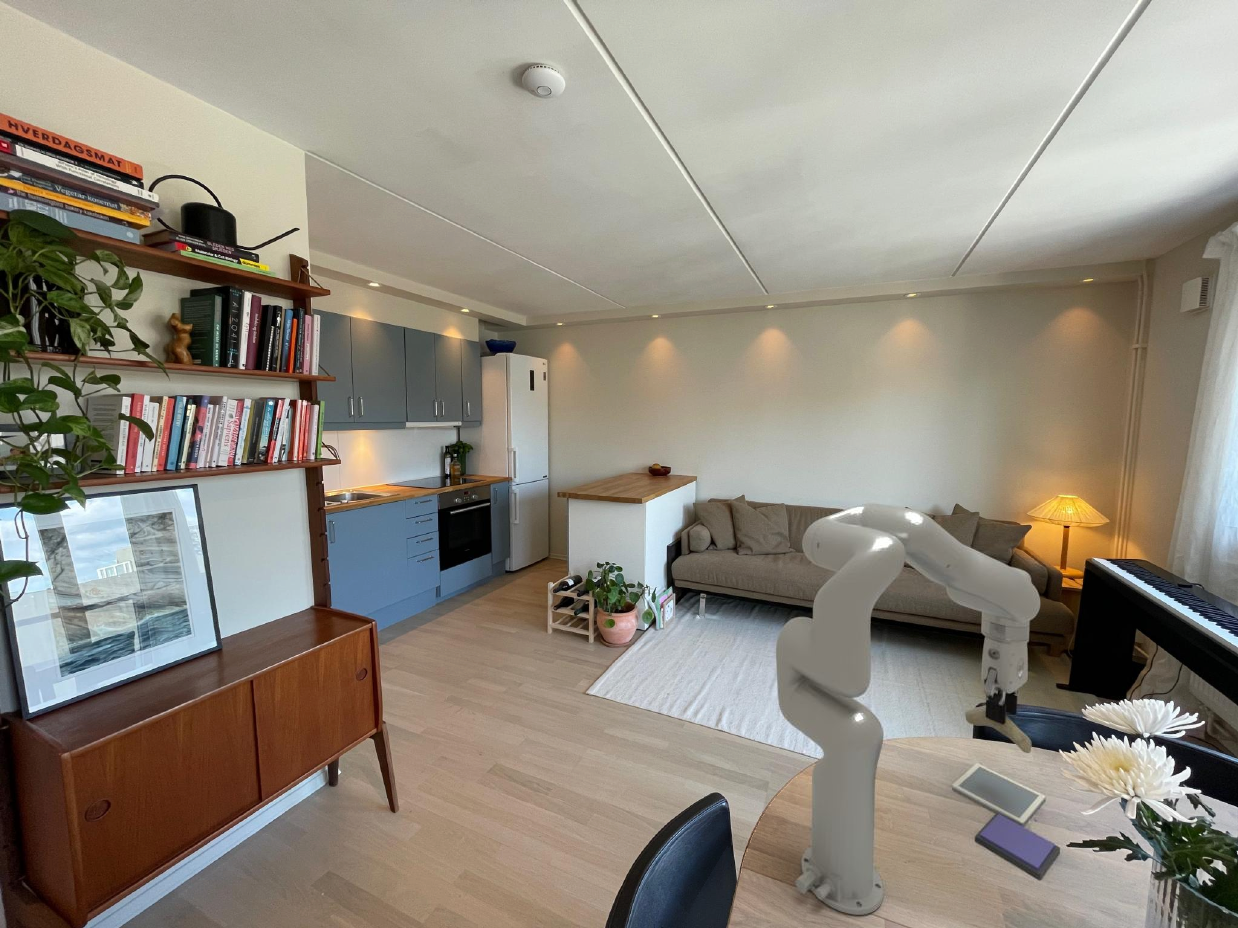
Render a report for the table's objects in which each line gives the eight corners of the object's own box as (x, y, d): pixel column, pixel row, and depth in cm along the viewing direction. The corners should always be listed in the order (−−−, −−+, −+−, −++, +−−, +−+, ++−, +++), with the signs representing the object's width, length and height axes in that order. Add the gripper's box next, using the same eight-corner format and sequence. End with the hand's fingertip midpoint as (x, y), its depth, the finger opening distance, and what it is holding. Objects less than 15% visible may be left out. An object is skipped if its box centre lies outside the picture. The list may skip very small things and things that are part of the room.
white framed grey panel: (1022, 827, 93) (1022, 822, 93) (951, 789, 103) (952, 784, 103) (1045, 800, 99) (1045, 795, 99) (976, 767, 109) (977, 762, 109)
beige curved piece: (962, 722, 103) (963, 700, 103) (981, 716, 106) (982, 694, 105) (1022, 755, 93) (1024, 730, 93) (1042, 747, 95) (1044, 723, 95)
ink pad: (1040, 880, 82) (1040, 871, 82) (974, 840, 90) (975, 833, 90) (1059, 852, 87) (1060, 844, 87) (996, 817, 95) (996, 810, 95)
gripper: (1010, 646, 91) (1006, 740, 92) (1043, 625, 100) (1039, 711, 101) (964, 632, 97) (961, 721, 98) (999, 614, 106) (996, 694, 108)
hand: (1001, 715), depth 100 cm, fingers closed on beige curved piece, 4 cm apart
